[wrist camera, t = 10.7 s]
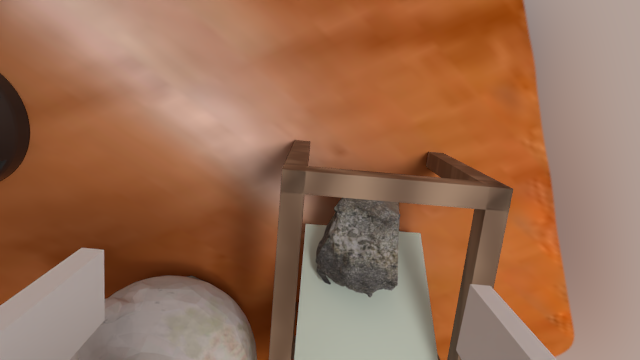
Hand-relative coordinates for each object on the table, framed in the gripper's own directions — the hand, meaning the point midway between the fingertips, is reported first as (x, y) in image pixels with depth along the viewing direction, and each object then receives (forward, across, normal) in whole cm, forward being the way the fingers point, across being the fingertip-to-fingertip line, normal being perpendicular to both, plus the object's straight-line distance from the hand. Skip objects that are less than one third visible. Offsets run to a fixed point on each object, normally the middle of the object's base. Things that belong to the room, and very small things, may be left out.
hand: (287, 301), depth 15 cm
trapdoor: (+23, +8, -16) cm, 29 cm away
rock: (+29, +7, -10) cm, 31 cm away
